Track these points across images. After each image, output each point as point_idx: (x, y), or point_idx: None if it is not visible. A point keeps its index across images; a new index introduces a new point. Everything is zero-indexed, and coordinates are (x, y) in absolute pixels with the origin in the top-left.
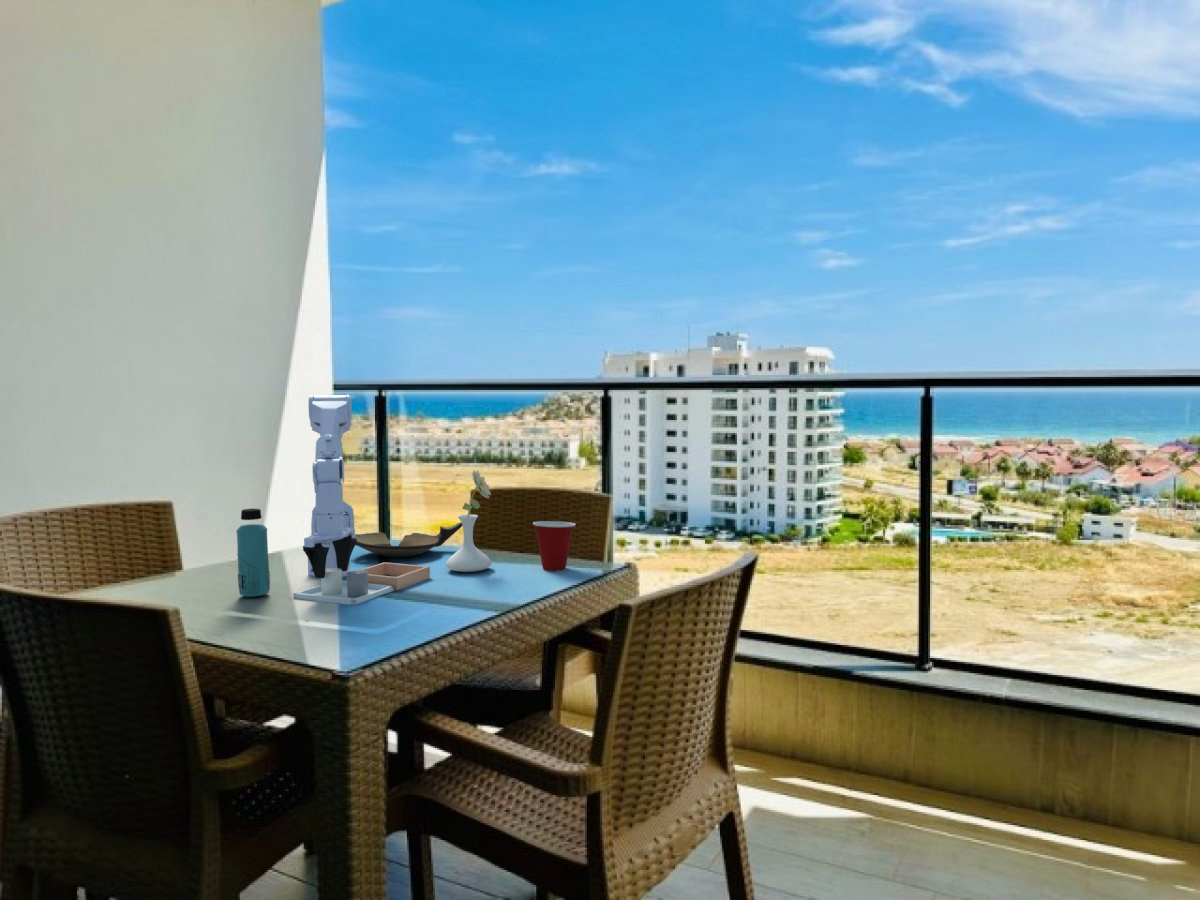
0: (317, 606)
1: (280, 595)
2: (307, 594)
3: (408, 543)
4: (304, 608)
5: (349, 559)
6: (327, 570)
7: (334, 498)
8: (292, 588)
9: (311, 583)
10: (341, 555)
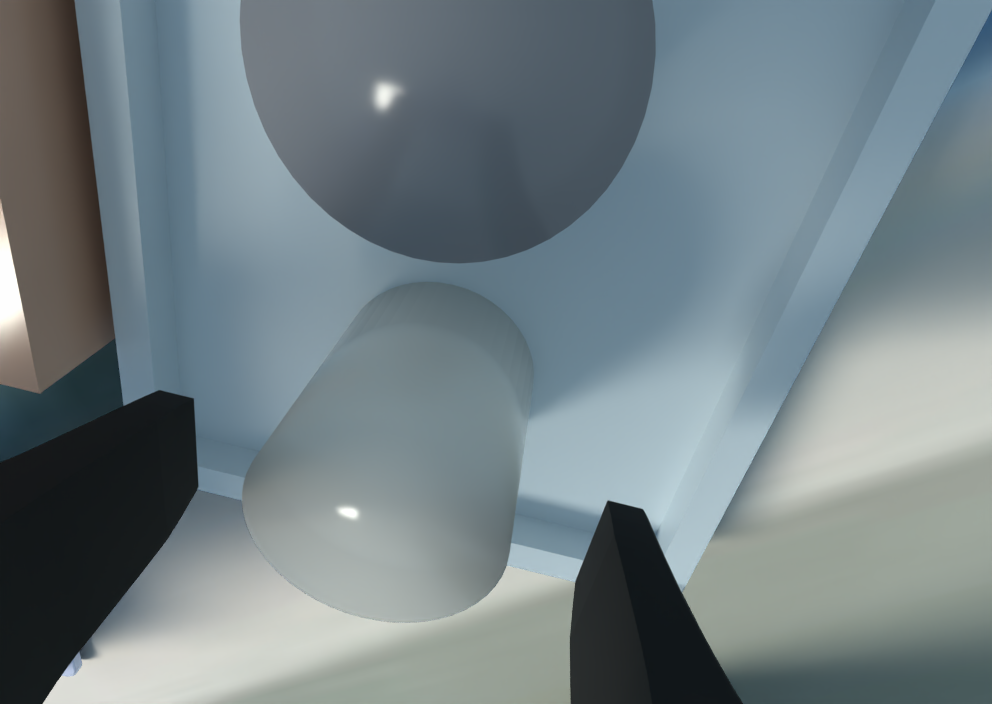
0: (840, 326)
1: (500, 664)
2: (713, 501)
3: None
4: (912, 405)
5: (13, 462)
6: (400, 564)
7: None
8: (312, 658)
9: (153, 608)
10: (34, 617)
